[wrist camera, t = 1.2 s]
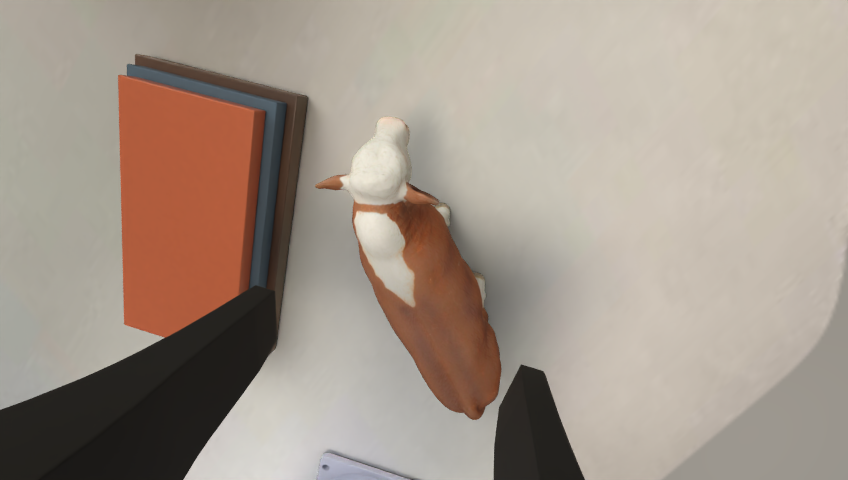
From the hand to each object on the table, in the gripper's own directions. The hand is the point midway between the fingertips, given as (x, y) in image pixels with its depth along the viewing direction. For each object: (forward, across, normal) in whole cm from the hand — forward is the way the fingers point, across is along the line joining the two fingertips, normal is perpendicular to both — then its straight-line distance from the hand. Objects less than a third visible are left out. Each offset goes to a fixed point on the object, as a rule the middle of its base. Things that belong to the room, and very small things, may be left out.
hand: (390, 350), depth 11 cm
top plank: (+8, +13, +5) cm, 16 cm away
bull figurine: (+11, 0, +3) cm, 11 cm away
